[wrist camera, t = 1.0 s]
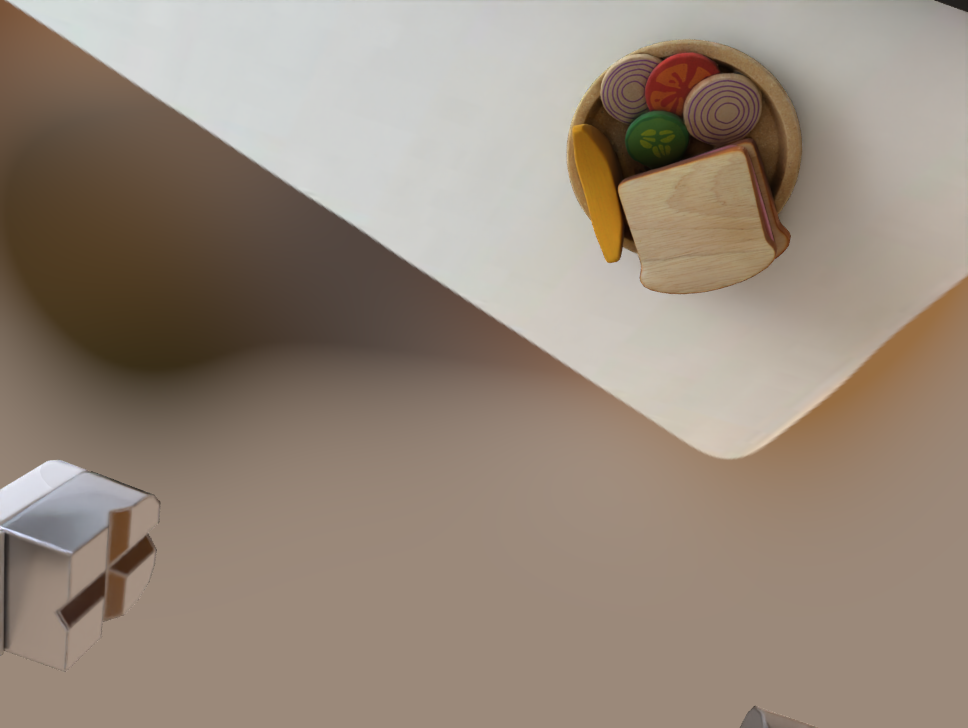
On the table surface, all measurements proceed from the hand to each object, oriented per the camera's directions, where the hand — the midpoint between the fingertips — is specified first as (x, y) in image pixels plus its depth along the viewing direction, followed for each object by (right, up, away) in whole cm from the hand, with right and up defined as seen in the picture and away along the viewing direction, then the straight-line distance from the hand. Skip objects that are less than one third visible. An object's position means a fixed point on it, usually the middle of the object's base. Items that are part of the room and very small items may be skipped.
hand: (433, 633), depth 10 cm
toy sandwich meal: (+12, +15, +34) cm, 39 cm away
